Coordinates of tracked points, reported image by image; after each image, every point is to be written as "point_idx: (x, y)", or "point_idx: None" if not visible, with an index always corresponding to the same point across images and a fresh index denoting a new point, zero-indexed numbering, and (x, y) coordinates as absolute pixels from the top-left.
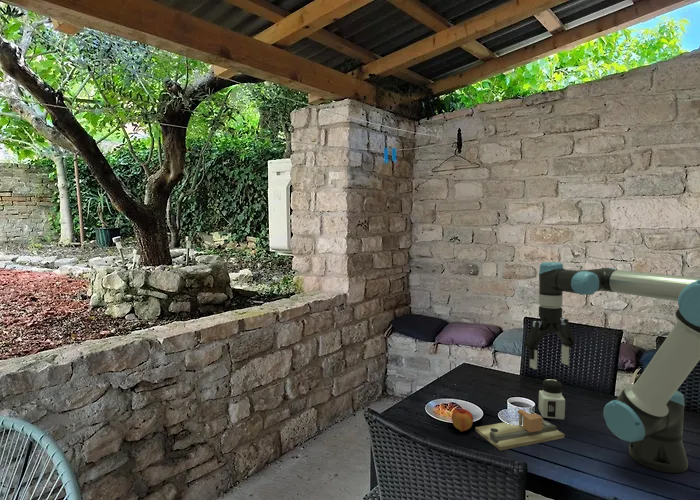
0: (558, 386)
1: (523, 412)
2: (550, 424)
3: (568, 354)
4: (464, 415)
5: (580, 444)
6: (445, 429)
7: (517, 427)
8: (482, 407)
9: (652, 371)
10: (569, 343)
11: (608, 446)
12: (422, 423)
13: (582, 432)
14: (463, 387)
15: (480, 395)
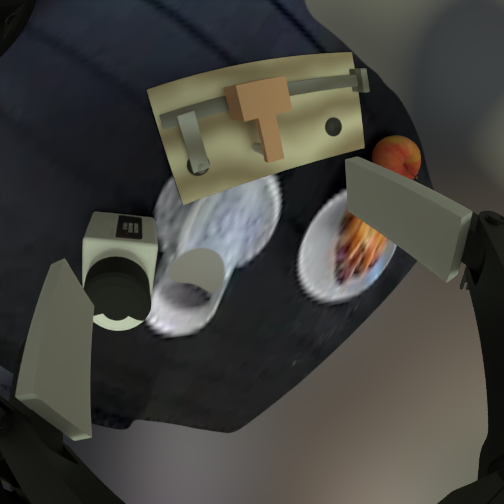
0: (100, 275)
1: (274, 139)
2: (180, 116)
3: (35, 324)
4: (412, 147)
5: (120, 55)
6: None
7: None
8: (292, 266)
9: None
10: (10, 437)
11: (49, 54)
12: None
13: (75, 130)
14: (285, 353)
15: (267, 326)
